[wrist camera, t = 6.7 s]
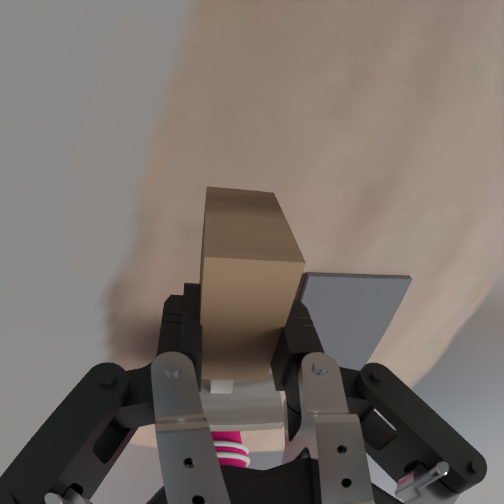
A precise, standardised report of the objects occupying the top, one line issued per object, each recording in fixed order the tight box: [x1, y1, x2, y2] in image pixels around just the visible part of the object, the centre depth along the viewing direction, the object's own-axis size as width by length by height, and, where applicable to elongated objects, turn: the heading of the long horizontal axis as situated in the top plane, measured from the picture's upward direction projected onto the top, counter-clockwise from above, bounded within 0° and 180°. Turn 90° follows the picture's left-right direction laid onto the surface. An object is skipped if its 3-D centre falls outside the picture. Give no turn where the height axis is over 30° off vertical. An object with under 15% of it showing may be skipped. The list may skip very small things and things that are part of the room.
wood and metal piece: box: [199, 187, 305, 431], centre depth 13 cm, size 12×7×5 cm, turn 171°
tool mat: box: [299, 272, 412, 371], centre depth 31 cm, size 16×12×1 cm
